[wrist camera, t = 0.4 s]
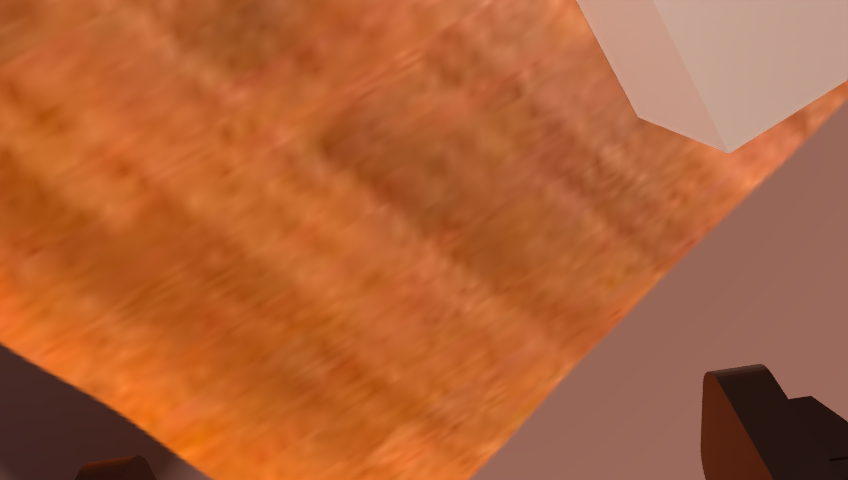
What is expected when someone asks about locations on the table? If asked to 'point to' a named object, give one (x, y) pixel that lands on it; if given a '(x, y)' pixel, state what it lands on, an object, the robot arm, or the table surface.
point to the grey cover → (722, 60)
